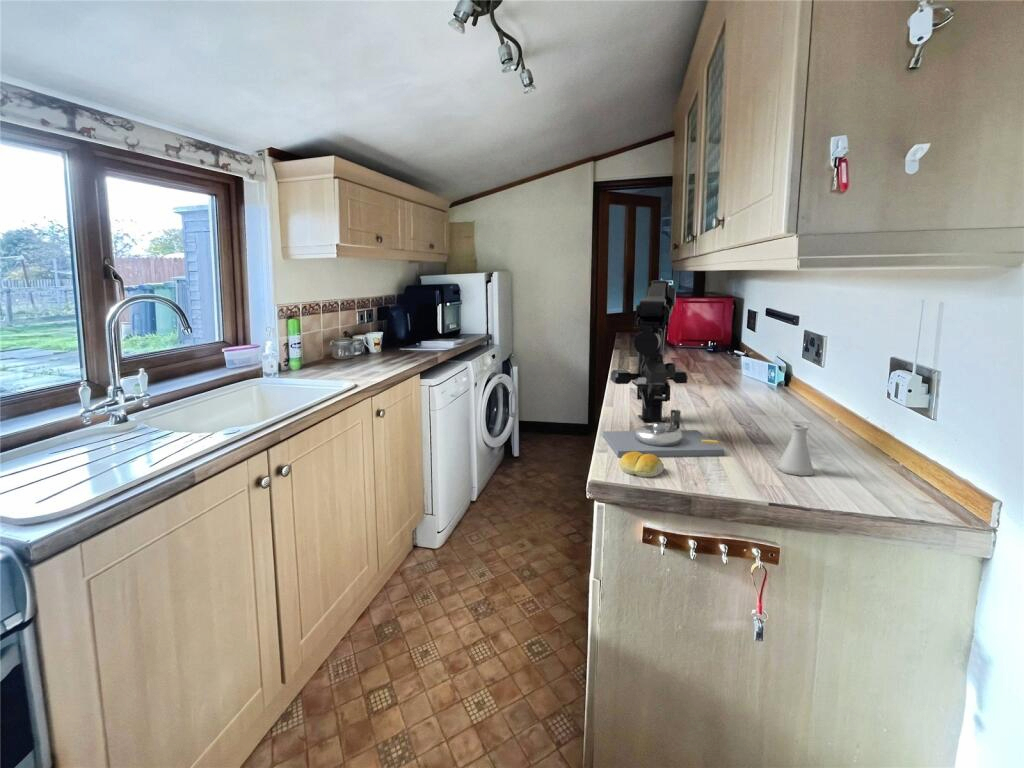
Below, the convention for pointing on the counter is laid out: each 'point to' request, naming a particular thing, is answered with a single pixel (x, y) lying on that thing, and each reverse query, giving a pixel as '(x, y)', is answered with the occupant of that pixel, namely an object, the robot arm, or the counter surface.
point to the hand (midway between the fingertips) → (646, 408)
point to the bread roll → (641, 464)
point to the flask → (797, 454)
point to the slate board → (689, 446)
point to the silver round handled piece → (661, 432)
